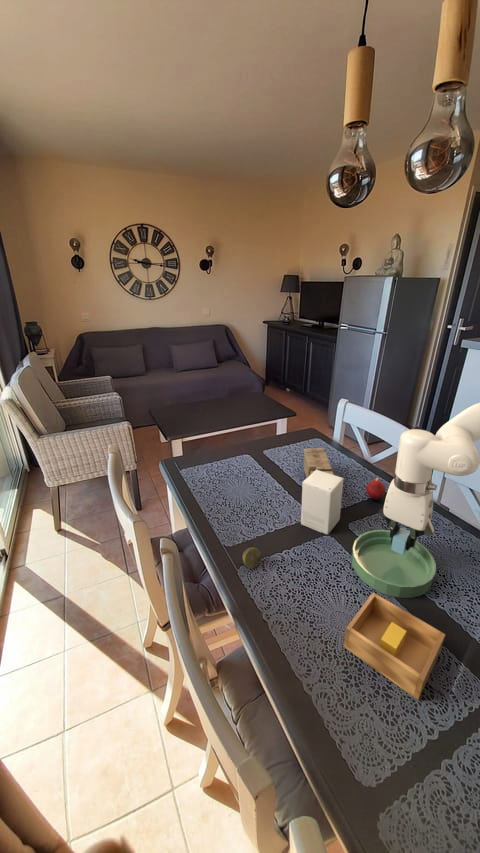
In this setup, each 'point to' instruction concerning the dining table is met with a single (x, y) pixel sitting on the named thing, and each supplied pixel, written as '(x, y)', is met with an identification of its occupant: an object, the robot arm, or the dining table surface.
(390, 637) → the yellow small block
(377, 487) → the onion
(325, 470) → the block tower
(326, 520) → the white product box
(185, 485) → the dining table surface
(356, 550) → the bowl
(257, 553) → the lime
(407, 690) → the holder
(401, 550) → the light blue block
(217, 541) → the dining table surface
